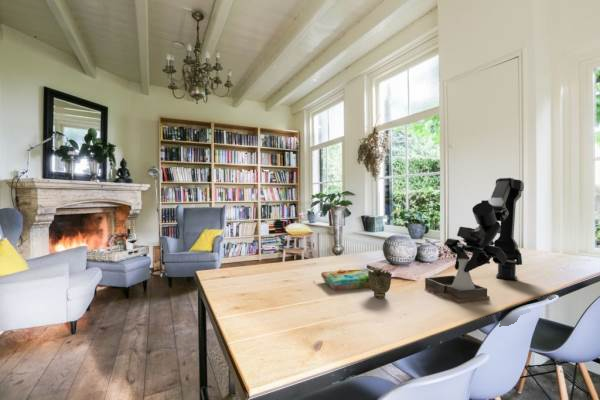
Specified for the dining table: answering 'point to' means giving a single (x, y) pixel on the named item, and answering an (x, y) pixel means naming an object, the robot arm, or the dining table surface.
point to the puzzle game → (347, 279)
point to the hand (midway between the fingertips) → (460, 270)
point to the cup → (379, 282)
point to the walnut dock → (455, 290)
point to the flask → (463, 277)
